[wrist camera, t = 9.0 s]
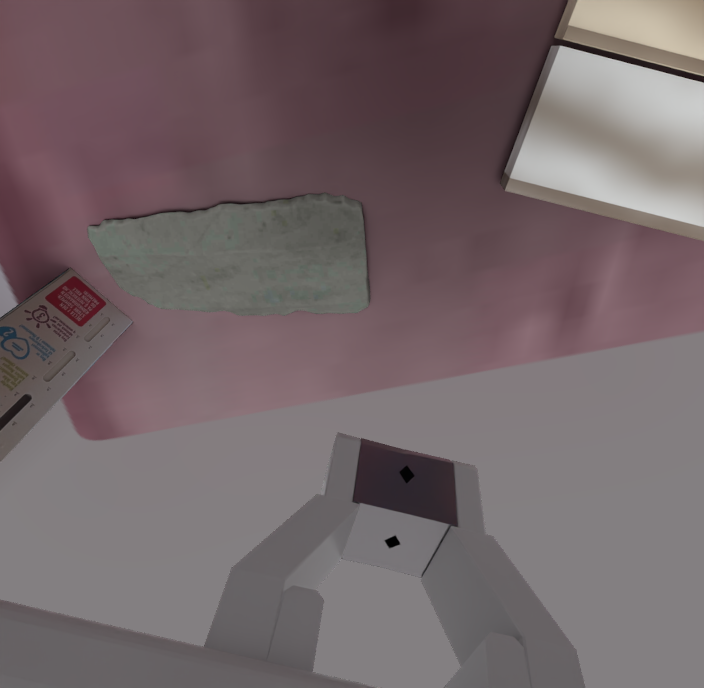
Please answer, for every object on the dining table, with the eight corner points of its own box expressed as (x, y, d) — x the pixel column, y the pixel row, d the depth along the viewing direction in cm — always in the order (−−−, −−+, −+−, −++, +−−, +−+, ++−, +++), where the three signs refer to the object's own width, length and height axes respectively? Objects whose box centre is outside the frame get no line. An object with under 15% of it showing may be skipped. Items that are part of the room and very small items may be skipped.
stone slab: (376, 299, 41) (362, 186, 34) (374, 319, 39) (358, 204, 32) (138, 309, 45) (84, 209, 38) (124, 328, 43) (65, 226, 36)
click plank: (551, 45, 28) (560, 45, 26) (909, 138, 29) (941, 144, 27) (499, 183, 32) (504, 190, 31) (812, 262, 33) (835, 274, 31)
